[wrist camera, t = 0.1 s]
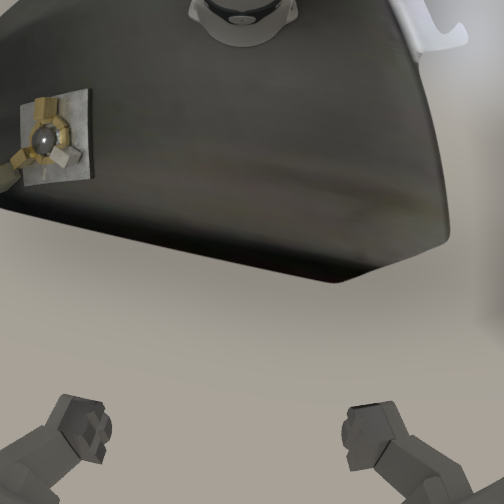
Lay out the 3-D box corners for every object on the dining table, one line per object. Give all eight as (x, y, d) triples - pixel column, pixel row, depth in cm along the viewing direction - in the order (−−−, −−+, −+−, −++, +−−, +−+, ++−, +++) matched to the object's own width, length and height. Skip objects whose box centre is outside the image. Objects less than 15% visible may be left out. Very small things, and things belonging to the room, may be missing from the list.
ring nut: (21, 106, 43) (8, 107, 39) (80, 91, 44) (68, 89, 40) (24, 172, 48) (11, 176, 44) (82, 164, 49) (70, 167, 45)
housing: (24, 105, 45) (9, 105, 40) (91, 89, 45) (78, 86, 41) (28, 184, 51) (14, 190, 46) (93, 177, 52) (81, 182, 47)
